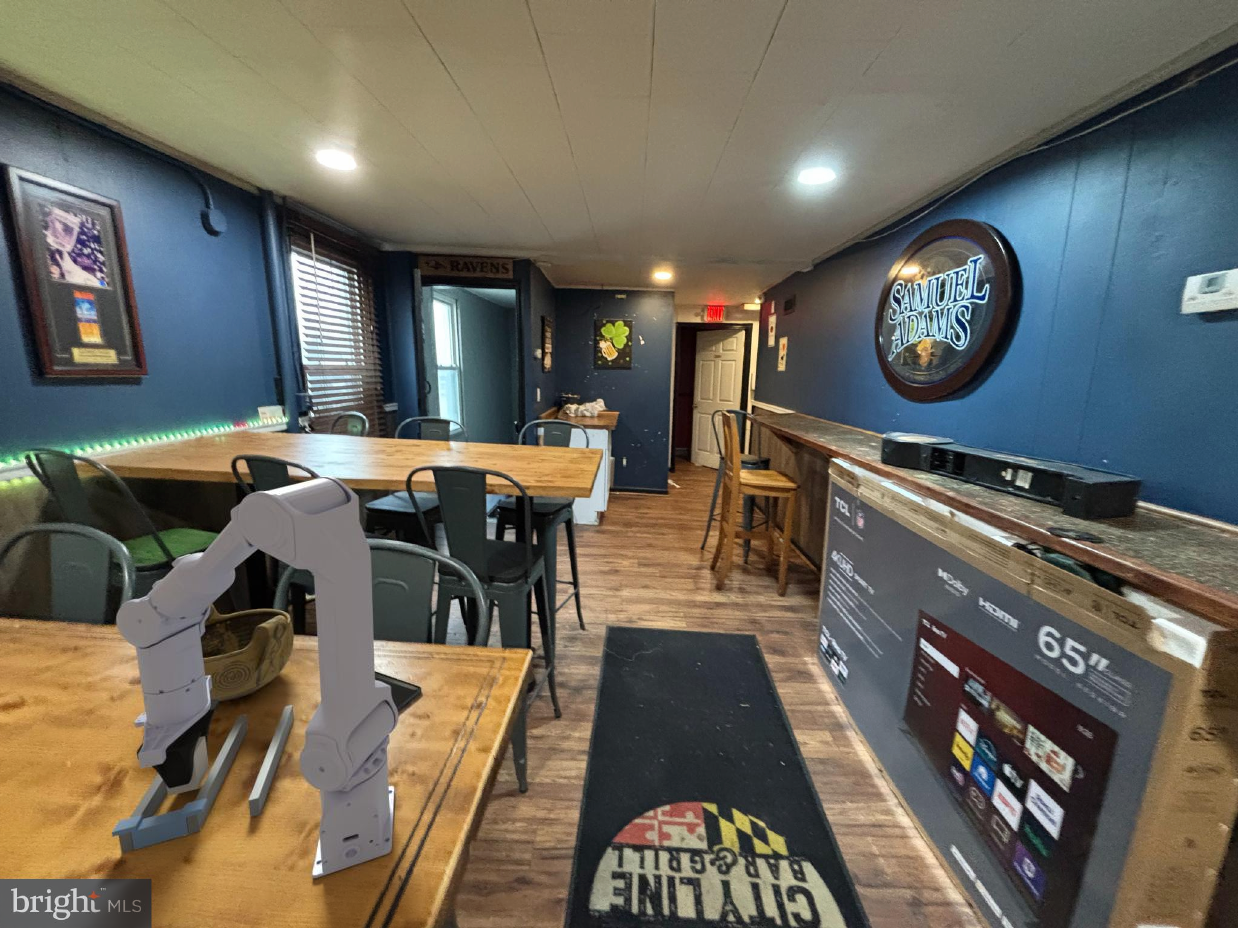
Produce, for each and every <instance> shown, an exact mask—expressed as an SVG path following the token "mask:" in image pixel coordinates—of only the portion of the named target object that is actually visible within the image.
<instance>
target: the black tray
mask: <svg viewBox="0 0 1238 928" xmlns="http://www.w3.org/2000/svg"><path fill="white" fill-rule="evenodd" d="M375 680H377V681H381V682H383V683H385V684H387V685H389V686H391V696H392V700H393V702H394V704H395V706H396V708H397V710H398V714H400V713H401V712H402V711H403V710H404V709H405V708H407V707H408V706H409V705H410V704H411V703H413V702H414V701H415V700H416V699H418V698H419V697H420V696H421V695H422V687H421V686H419V685H416V684H414V683H411V682H408V681H404V680H401V679H399V678H397V677H395V676H394V677H393V676H390V675H388V674H384V673H382V672H378V671H377V670H375Z"/></svg>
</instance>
